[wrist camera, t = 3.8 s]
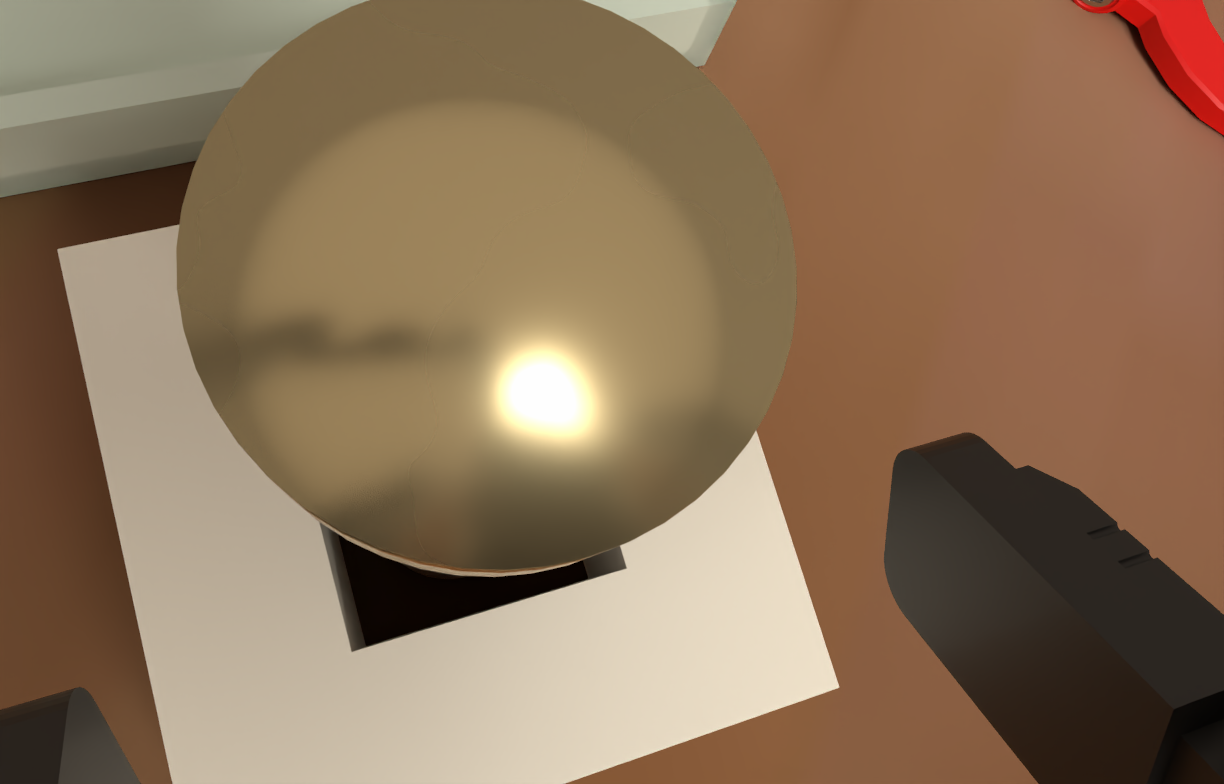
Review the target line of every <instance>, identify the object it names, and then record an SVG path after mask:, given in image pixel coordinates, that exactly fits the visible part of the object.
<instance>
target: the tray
mask: <svg viewBox="0 0 1224 784" xmlns="http://www.w3.org/2000/svg"><path fill="white" fill-rule="evenodd" d="M366 1H368V0H0V198H1V197H6V196H11V195H17V194H22V193H27V192H33V191H38V190H43V189H49V188H54V187H59V186H65V185H70V184H75V183H81V182H86V181H91V180H97V179H102V178H107V177H112V176H118V175H123V174H128V173H134V172H139V171H144V170H150V169H155V168H160V167H166V166H171V165H176V164H182V163H187V162H192V161H197V159H198V157H199V155H200V153H201V150H202V148H203V146H204V144H205V142H206V139H207V137H208V135H209V133H210V132H211V130H212V128H213V127H214V125H215V124H216V122H217V121H218V119H219V117H220V116H221V114H222V113H223V111H224V110H225V108H226V106H227V105H228V103H229V102H230V100H231V99H232V98H233V97H234V96H235V94H236V93H237V92H238V91H239V90H240V89H241V87H242V86H243V85H244V84H245V83H246V82H247V80H248V79H249V78H250V77H251V76H252V75H253V73H254V72H255V71H256V70H257V69H258V68H260V67H261V66H262V65H263V64H264V63H265V62H266V61H267V60H269V59H270V58H271V57H272V56H273V55H274V54H275V53H276V52H278V51H279V50H280V49H281V48H282V47H283V46H284V45H286V44H287V43H289V42H290V41H292V40H293V39H295V38H296V37H298V36H299V35H301V34H302V33H304V32H305V31H307V30H308V29H310V28H311V27H312V26H314V25H315V24H317V23H319V22H321V21H323V20H325V19H327V18H329V17H331V16H333V15H335V14H337V13H339V12H341V11H343V10H345V9H347V8H349V7H351V6H354V5H357V4H360V3H363V2H366ZM583 1H586V2H589V3H591V4H594V5H596V6H599V7H602V8H604V9H607V10H610V11H612V12H614V13H616V14H617V15H619V16H621V17H623V18H625V19H627V20H629V21H631V22H633V23H635V24H637V25H639V26H641V27H643V28H644V29H646V30H647V31H649V32H650V33H652V34H653V35H655V36H656V37H658V38H659V39H661V40H662V41H664V42H665V43H667V44H668V45H670V46H671V47H673V48H674V49H675V50H677V51H678V52H679V53H680V54H681V55H683V56H684V57H685V58H686V59H687V60H688V61H690V62H691V63H692V64H693V65H694V66H695V67H697V66H703V65H705V63H706V61H707V59H708V57H709V55H710V53H711V51H712V49H713V47H714V45H715V43H716V41H717V39H718V37H719V35H720V33H721V31H722V29H723V27H724V25H725V23H726V21H727V19H728V17H729V15H730V13H731V11H732V9H733V7H734V5H735V4H736V2H737V0H583Z"/></svg>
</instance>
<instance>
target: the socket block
mask: <svg viewBox="0 0 1224 784" xmlns="http://www.w3.org/2000/svg"><path fill="white" fill-rule="evenodd" d="M178 232H179V225H175V226H170V227H165V228H160V229H155V230H150V231H145V232H140V233H135V234H130V235H125V236H120V237H115V238H110V239H105V240H100V241H95V242H90V243H85V244H80V245H75V246H70V247H65V248H60V249H57V250H58V255H59V260H60V264H61V269H62V274H63V278H64V283H65V287H66V292H67V297H68V301H69V306H70V311H71V315H72V320H73V325H74V329H75V334H76V338H77V343H78V348H79V352H80V357H81V362H82V366H83V371H84V376H85V380H86V385H87V390H88V394H89V399H90V403H91V408H92V413H93V417H94V422H95V427H96V431H97V436H98V441H99V445H100V450H101V454H102V459H103V464H104V468H105V473H106V478H107V482H108V487H109V492H110V496H111V501H112V505H113V510H114V515H115V519H116V524H117V529H118V533H119V538H120V543H121V547H122V552H123V556H124V561H125V566H126V570H127V575H128V580H129V584H130V589H131V594H132V598H133V603H134V607H135V612H136V617H137V621H138V626H139V631H140V635H141V640H142V645H143V649H144V654H145V658H146V663H147V668H148V672H149V677H150V682H151V686H152V691H153V696H154V700H155V705H156V709H157V714H158V719H159V723H160V728H161V733H162V737H163V742H164V747H165V751H166V756H167V760H168V765H169V770H170V774H171V779H172V784H565V783H568V782H570V781H573V780H576V779H579V778H582V777H585V776H588V775H590V774H593V773H596V772H599V771H602V770H605V769H608V768H610V767H613V766H616V765H619V764H622V763H625V762H628V761H630V760H633V759H636V758H639V757H642V756H645V755H648V754H651V753H653V752H656V751H659V750H662V749H665V748H668V747H671V746H673V745H676V744H679V743H682V742H685V741H688V740H691V739H693V738H696V737H699V736H702V735H705V734H708V733H711V732H713V731H716V730H719V729H722V728H725V727H728V726H731V725H734V724H736V723H739V722H742V721H745V720H748V719H751V718H754V717H756V716H759V715H762V714H765V713H768V712H771V711H774V710H776V709H779V708H782V707H785V706H788V705H791V704H794V703H797V702H799V701H802V700H805V699H808V698H811V697H814V696H817V695H819V694H822V693H825V692H828V691H831V690H834V689H837V688H839V685H838V682H837V679H836V676H835V673H834V670H833V666H832V663H831V660H830V657H829V654H828V651H827V648H826V645H825V642H824V639H823V636H822V632H821V629H820V626H819V623H818V620H817V617H816V614H815V611H814V608H813V605H812V602H811V598H810V595H809V592H808V589H807V586H806V583H805V580H804V577H803V574H802V571H801V568H800V564H799V561H798V558H797V555H796V552H795V549H794V546H793V543H792V540H791V537H790V534H789V530H788V527H787V524H786V521H785V518H784V515H783V512H782V509H781V506H780V503H779V500H778V496H777V493H776V490H775V487H774V484H773V481H772V478H771V475H770V472H769V469H768V466H767V462H766V459H765V456H764V453H763V450H762V447H761V444H760V441H759V438H758V435H757V432H756V431H755V433H754V435H753V436H752V438H751V440H750V441H749V443H748V444H747V445H746V447H745V448H744V449H743V450H742V452H741V453H740V454H739V456H738V457H737V458H736V459H735V461H734V462H733V463H732V464H731V466H730V467H729V468H728V469H727V471H726V472H725V473H724V474H723V475H722V476H721V477H720V478H719V479H718V480H717V481H716V482H715V483H714V484H713V485H712V486H710V487H709V488H708V489H707V490H706V491H705V492H704V493H703V494H702V495H701V496H700V497H699V498H698V499H697V500H696V501H694V502H693V503H691V504H690V505H689V506H687V507H686V508H685V509H683V510H682V511H680V512H679V513H678V514H676V515H675V516H673V517H672V518H671V519H669V520H668V521H667V522H665V523H664V524H662V525H660V526H658V527H656V528H654V529H652V530H651V531H649V532H647V533H645V534H643V535H641V536H639V537H637V538H636V539H634V540H632V541H630V542H628V543H625V544H623V545H620V546H618V547H615V548H613V549H610V550H607V551H605V552H602V553H600V554H597V555H594V556H592V557H589V558H586V559H584V560H583V562H584V565H585V569H586V572H587V576H588V579H586V580H582V581H579V582H576V583H572V584H569V585H566V586H562V587H559V588H556V589H553V590H549V591H546V592H543V593H539V594H536V595H533V596H530V597H526V598H523V599H520V600H516V601H513V602H510V603H506V604H503V605H500V606H497V607H493V608H490V609H487V610H483V611H480V612H477V613H473V614H470V615H467V616H464V617H460V618H457V619H454V620H450V621H447V622H444V623H440V624H437V625H434V626H431V627H427V628H424V629H421V630H417V631H414V632H411V633H408V634H404V635H401V636H398V637H394V638H391V639H388V640H384V641H381V642H378V643H375V644H371V645H368V646H366V644H365V640H364V636H363V632H362V628H361V624H360V620H359V616H358V612H357V608H356V604H355V600H354V596H353V592H352V588H351V584H350V580H349V576H348V572H347V568H346V564H345V560H344V557H343V553H342V549H341V545H340V541H339V537H338V534H337V533H336V532H334V531H333V530H331V529H330V528H328V527H326V526H325V525H323V524H322V523H320V522H319V521H317V520H316V519H315V518H314V517H312V516H311V515H310V514H309V513H308V512H307V511H305V510H304V509H303V508H302V507H301V506H300V505H298V504H297V503H296V502H295V501H294V500H293V499H291V498H290V497H289V496H288V495H287V494H286V493H285V492H284V491H283V490H281V489H280V488H279V487H278V486H277V485H276V484H275V483H274V482H273V481H272V480H271V479H270V478H269V477H268V476H267V475H266V474H265V473H264V472H263V471H262V470H261V469H260V468H259V466H258V465H257V464H256V463H255V462H254V461H253V460H252V459H251V457H250V456H249V455H248V454H247V453H246V452H245V451H244V450H243V448H242V447H241V446H240V445H239V444H238V443H237V441H236V440H235V438H234V437H233V435H232V434H231V432H230V431H229V429H228V428H227V426H226V425H225V423H224V422H223V420H222V419H221V417H220V416H219V414H218V413H217V411H216V410H215V408H214V406H213V404H212V402H211V400H210V398H209V396H208V394H207V392H206V389H205V387H204V385H203V383H202V381H201V379H200V377H199V375H198V373H197V371H196V368H195V365H194V362H193V359H192V355H191V352H190V349H189V346H188V343H187V339H186V336H185V333H184V330H183V324H182V318H181V311H180V305H179V299H178V292H177V259H176V247H177V239H178Z"/></svg>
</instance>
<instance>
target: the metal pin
mask: <svg viewBox="0 0 1224 784" xmlns="http://www.w3.org/2000/svg"><path fill="white" fill-rule="evenodd" d="M176 259H177V292H178V299H179V305H180V311H181V318H182V324H183V330H184V333H185V336H186V339H187V343H188V346H189V349H190V352H191V355H192V359H193V362H194V365H195V368H196V371H197V373H198V375H199V377H200V379H201V381H202V383H203V385H204V387H205V389H206V392H207V394H208V396H209V398H210V400H211V402H212V404H213V406H214V408H215V410H216V411H217V413H218V414H219V416H220V417H221V419H222V420H223V422H224V423H225V425H226V426H227V428H228V429H229V431H230V432H231V434H232V435H233V437H234V438H235V440H236V441H237V443H238V444H239V445H240V446H241V447H242V448H243V450H244V451H245V452H246V453H247V454H248V455H249V456H250V457H251V459H252V460H253V461H254V462H255V463H256V464H257V465H258V466H259V468H260V469H261V470H262V471H263V472H264V473H265V474H266V475H267V476H268V477H269V478H270V479H271V480H272V481H273V482H274V483H275V484H276V485H277V486H278V487H279V488H280V489H281V490H283V491H284V492H285V493H286V494H287V495H288V496H289V497H290V498H291V499H293V500H294V501H295V502H296V503H297V504H298V505H300V506H301V507H302V508H303V509H304V510H305V511H307V512H308V513H309V514H310V515H311V516H312V517H314V518H315V519H316V520H317V521H319V522H320V523H322V524H323V525H325V526H326V527H328V528H330V529H331V530H333V531H334V532H336V533H337V534H339V535H340V536H342V537H343V538H345V539H347V540H348V541H350V542H352V543H354V544H356V545H358V546H361V547H363V548H365V549H367V550H369V551H371V552H373V553H376V554H378V555H380V556H382V557H384V558H387V559H391V560H394V561H397V562H400V563H401V564H403V565H404V566H406V567H407V568H409V569H410V570H412V571H414V572H417V573H419V574H421V575H424V576H428V577H432V578H438V579H459V578H464V577H469V576H486V577H499V576H510V575H521V574H532V573H536V572H541V571H545V570H550V569H554V568H558V567H563V566H567V565H570V564H573V563H576V562H578V561H581V560H584V559H586V558H589V557H592V556H594V555H597V554H600V553H602V552H605V551H607V550H610V549H613V548H615V547H618V546H620V545H623V544H625V543H628V542H630V541H632V540H634V539H636V538H637V537H639V536H641V535H643V534H645V533H647V532H649V531H651V530H652V529H654V528H656V527H658V526H660V525H662V524H664V523H665V522H667V521H668V520H669V519H671V518H672V517H673V516H675V515H676V514H678V513H679V512H680V511H682V510H683V509H685V508H686V507H687V506H689V505H690V504H691V503H693V502H694V501H696V500H697V499H698V498H699V497H700V496H701V495H702V494H703V493H704V492H705V491H706V490H707V489H708V488H709V487H710V486H712V485H713V484H714V483H715V482H716V481H717V480H718V479H719V478H720V477H721V476H722V475H723V474H724V473H725V472H726V471H727V469H728V468H729V467H730V466H731V464H732V463H733V462H734V461H735V459H736V458H737V457H738V456H739V454H740V453H741V452H742V450H743V449H744V448H745V447H746V445H747V444H748V443H749V441H750V440H751V438H752V436H753V435H754V433H755V431H756V430H757V428H758V426H759V424H760V423H761V421H762V419H763V418H764V416H765V414H766V413H767V411H768V409H769V407H770V404H771V402H772V399H773V397H774V395H775V392H776V390H777V387H778V385H779V383H780V380H781V378H782V375H783V372H784V368H785V364H786V360H787V357H788V353H789V349H790V345H791V341H792V336H793V328H794V320H795V312H796V304H797V288H796V260H795V253H794V246H793V239H792V232H791V227H790V224H789V220H788V216H787V213H786V209H785V205H784V202H783V198H782V195H781V192H780V190H779V187H778V185H777V182H776V180H775V178H774V175H773V173H772V170H771V168H770V165H769V163H768V161H767V159H766V157H765V155H764V154H763V152H762V150H761V148H760V147H759V145H758V143H757V141H756V140H755V138H754V136H753V134H752V132H751V131H750V129H749V128H748V126H747V125H746V124H745V122H744V121H743V119H742V118H741V117H740V115H739V114H738V113H737V111H736V110H735V109H734V107H733V106H732V104H731V103H730V102H729V100H728V99H727V98H726V97H725V96H724V95H723V94H722V93H721V92H720V91H719V90H718V88H717V87H716V86H715V85H714V84H713V83H712V82H711V81H710V80H709V79H708V78H707V77H706V76H705V75H704V73H703V72H701V71H700V70H699V69H698V68H697V67H695V66H694V65H693V64H692V63H691V62H690V61H688V60H687V59H686V58H685V57H684V56H683V55H681V54H680V53H679V52H678V51H677V50H675V49H674V48H673V47H671V46H670V45H668V44H667V43H665V42H664V41H662V40H661V39H659V38H658V37H656V36H655V35H653V34H652V33H650V32H649V31H647V30H646V29H644V28H643V27H641V26H639V25H637V24H635V23H633V22H631V21H629V20H627V19H625V18H623V17H621V16H619V15H617V14H616V13H614V12H612V11H610V10H607V9H604V8H602V7H599V6H596V5H594V4H591V3H589V2H586V1H583V0H368V1H366V2H363V3H360V4H357V5H354V6H351V7H349V8H347V9H345V10H343V11H341V12H339V13H337V14H335V15H333V16H331V17H329V18H327V19H325V20H323V21H321V22H319V23H317V24H315V25H314V26H312V27H311V28H310V29H308V30H307V31H305V32H304V33H302V34H301V35H299V36H298V37H296V38H295V39H293V40H292V41H290V42H289V43H287V44H286V45H284V46H283V47H282V48H281V49H280V50H279V51H278V52H276V53H275V54H274V55H273V56H272V57H271V58H270V59H269V60H267V61H266V62H265V63H264V64H263V65H262V66H261V67H260V68H258V69H257V70H256V71H255V72H254V73H253V75H252V76H251V77H250V78H249V79H248V80H247V82H246V83H245V84H244V85H243V86H242V87H241V89H240V90H239V91H238V92H237V93H236V94H235V96H234V97H233V98H232V99H231V100H230V102H229V103H228V105H227V106H226V108H225V110H224V111H223V113H222V114H221V116H220V117H219V119H218V121H217V122H216V124H215V125H214V127H213V128H212V130H211V132H210V133H209V135H208V137H207V139H206V142H205V144H204V146H203V148H202V150H201V153H200V155H199V157H198V159H197V161H196V164H195V166H194V168H193V171H192V174H191V178H190V181H189V185H188V188H187V191H186V195H185V198H184V202H183V205H182V210H181V217H180V225H179V232H178V239H177V247H176Z"/></svg>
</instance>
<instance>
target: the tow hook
mask: <svg viewBox="0 0 1224 784" xmlns="http://www.w3.org/2000/svg"><path fill="white" fill-rule="evenodd" d="M1073 2H1074V3H1076V4H1077V5H1078V6H1079V7H1081V8H1082V9H1084V10H1086V11H1089V12H1092V13H1108V12H1112V11H1116V12H1117V13H1118V14H1120V15H1121V16H1123V17H1124V18H1125V19H1127V20H1128V21H1129V22H1131V23H1132V24H1133V25H1135V26H1136V27H1137V28H1138V30H1139V32H1140V35H1141V38H1142V41H1143V44H1144V46H1145V49H1146V51H1147V52H1148V54H1149V55H1150V57H1151V59H1152V60H1153V62H1154V64H1155V65H1156V67H1157V68H1158V70H1159V72H1160V73H1161V75H1162V76H1163V78H1164V80H1165V81H1166V83H1167V85H1168V86H1169V87H1170V88H1171V89H1172V91H1173V92H1174V93H1175V94H1176V95H1177V96H1178V97H1179V98H1180V99H1181V100H1182V101H1183V102H1184V103H1185V104H1186V105H1187V106H1188V107H1189V108H1190V109H1191V111H1192V112H1193V113H1194V114H1195V115H1196V116H1197V117H1198V118H1199V119H1200V120H1202V121H1203V122H1205V123H1206V124H1208V125H1209V126H1211V127H1212V128H1214V129H1215V130H1216V131H1218V132H1219V133H1221V134H1222V135H1224V43H1223V41H1222V40H1221V38H1220V36H1219V35H1218V33H1217V31H1216V30H1215V28H1214V27H1213V25H1212V23H1211V22H1210V20H1209V18H1208V15H1207V12H1206V9H1205V7H1204V4H1203V1H1202V0H1073Z"/></svg>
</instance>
